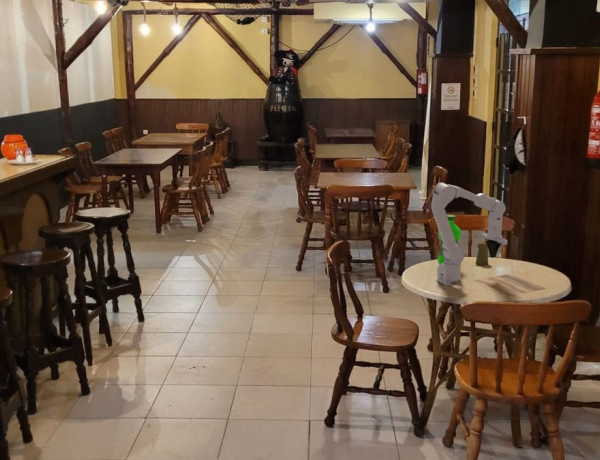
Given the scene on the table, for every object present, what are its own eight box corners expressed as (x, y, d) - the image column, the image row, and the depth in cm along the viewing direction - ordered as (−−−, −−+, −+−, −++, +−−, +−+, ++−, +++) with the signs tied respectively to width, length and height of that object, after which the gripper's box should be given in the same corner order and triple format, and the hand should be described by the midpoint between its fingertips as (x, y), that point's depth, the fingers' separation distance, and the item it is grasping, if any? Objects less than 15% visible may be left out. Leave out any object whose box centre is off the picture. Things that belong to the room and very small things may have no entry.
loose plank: (532, 294, 278) (532, 290, 277) (496, 279, 297) (496, 276, 297) (545, 291, 281) (545, 288, 280) (508, 277, 300) (508, 273, 300)
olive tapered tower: (486, 262, 323) (487, 240, 320) (490, 266, 317) (491, 243, 314) (473, 262, 322) (475, 240, 320) (477, 266, 317) (479, 244, 314)
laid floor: (505, 299, 271) (505, 296, 271) (469, 284, 291) (469, 280, 290) (531, 294, 278) (531, 291, 277) (494, 279, 297) (495, 276, 296)
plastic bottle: (444, 263, 322) (447, 212, 316) (463, 267, 314) (466, 216, 308) (432, 267, 315) (434, 215, 309) (451, 272, 308) (454, 219, 302)
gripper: (513, 229, 287) (511, 260, 290) (490, 222, 299) (488, 251, 303) (501, 231, 284) (498, 262, 287) (478, 224, 296) (476, 253, 300)
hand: (492, 257), depth 295 cm, fingers closed
